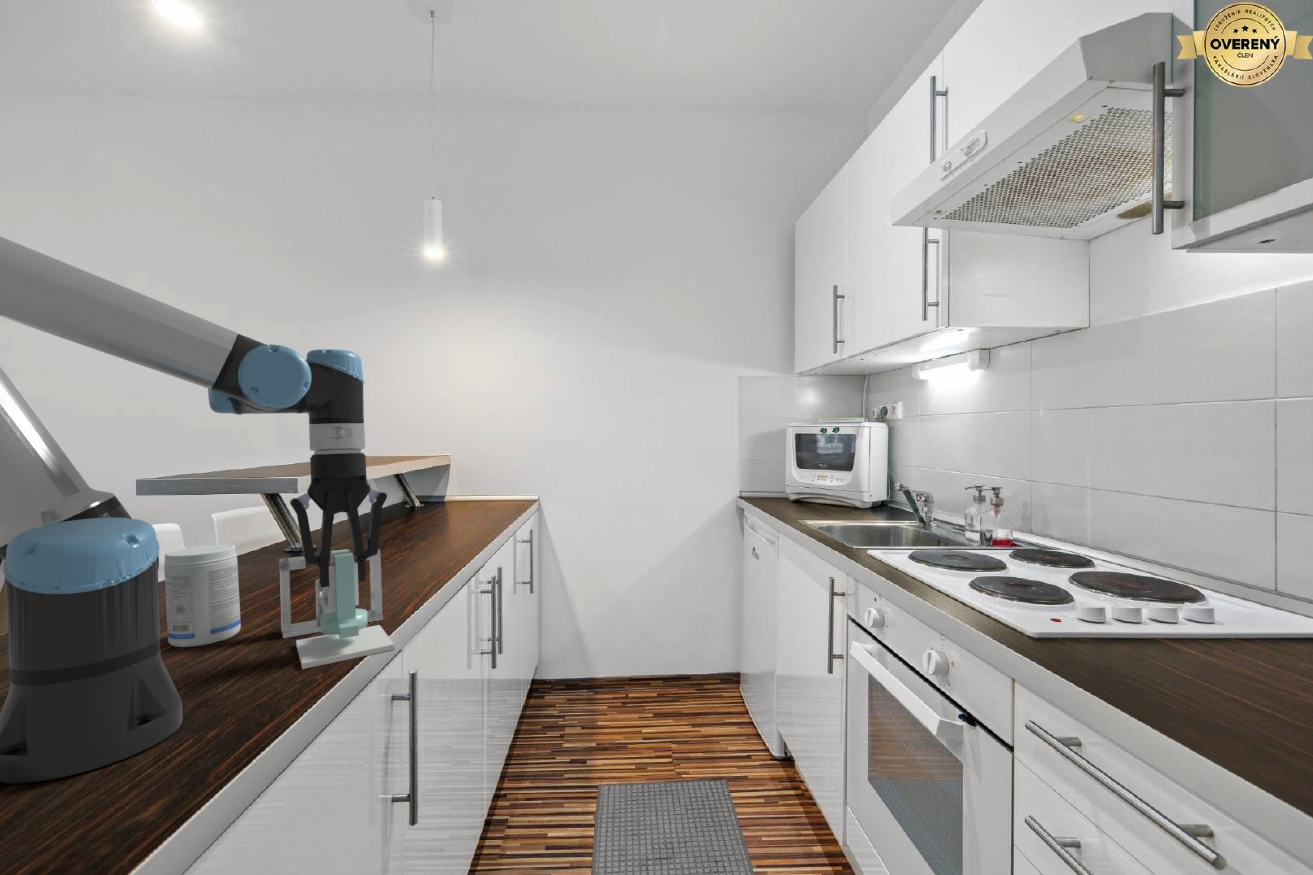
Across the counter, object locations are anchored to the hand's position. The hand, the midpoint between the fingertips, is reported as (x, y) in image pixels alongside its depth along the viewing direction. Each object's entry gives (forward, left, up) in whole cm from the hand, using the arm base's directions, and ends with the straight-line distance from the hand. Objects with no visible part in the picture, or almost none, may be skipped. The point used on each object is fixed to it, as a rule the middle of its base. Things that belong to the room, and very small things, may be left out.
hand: (343, 605), depth 92 cm
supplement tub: (-18, +20, -7) cm, 28 cm away
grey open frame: (0, +14, -7) cm, 15 cm away
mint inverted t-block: (0, 0, -4) cm, 4 cm away
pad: (0, 0, -7) cm, 7 cm away
